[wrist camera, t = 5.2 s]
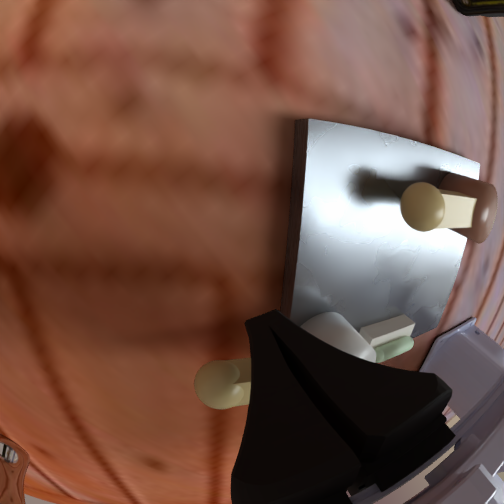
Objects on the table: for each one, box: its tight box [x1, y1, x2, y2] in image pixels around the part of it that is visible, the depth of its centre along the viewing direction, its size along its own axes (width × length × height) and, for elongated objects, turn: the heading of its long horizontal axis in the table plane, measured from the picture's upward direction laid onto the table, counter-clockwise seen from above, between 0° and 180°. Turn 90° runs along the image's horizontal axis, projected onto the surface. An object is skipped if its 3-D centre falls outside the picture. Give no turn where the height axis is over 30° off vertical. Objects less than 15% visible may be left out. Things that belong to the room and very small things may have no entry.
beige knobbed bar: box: [400, 173, 497, 243], centre depth 12 cm, size 9×4×3 cm, turn 87°
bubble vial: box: [359, 314, 415, 363], centre depth 16 cm, size 4×2×2 cm, turn 86°
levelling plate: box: [280, 119, 480, 338], centre depth 15 cm, size 15×14×1 cm
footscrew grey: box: [194, 312, 376, 409], centre depth 12 cm, size 9×4×3 cm, turn 81°
